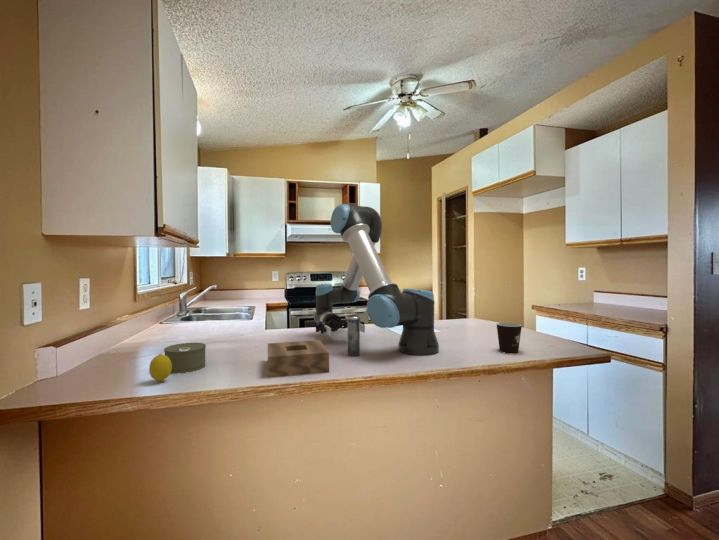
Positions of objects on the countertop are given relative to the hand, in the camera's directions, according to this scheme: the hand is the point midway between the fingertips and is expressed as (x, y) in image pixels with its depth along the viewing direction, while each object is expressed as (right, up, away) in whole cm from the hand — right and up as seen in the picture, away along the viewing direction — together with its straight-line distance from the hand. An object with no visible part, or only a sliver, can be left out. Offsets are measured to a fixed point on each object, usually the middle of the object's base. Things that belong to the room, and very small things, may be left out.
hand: (347, 330), depth 133 cm
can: (-51, -9, -20) cm, 56 cm away
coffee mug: (+62, -8, -2) cm, 62 cm away
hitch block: (-16, -8, -19) cm, 26 cm away
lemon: (-52, -9, -33) cm, 62 cm away
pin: (+2, -8, -5) cm, 10 cm away
